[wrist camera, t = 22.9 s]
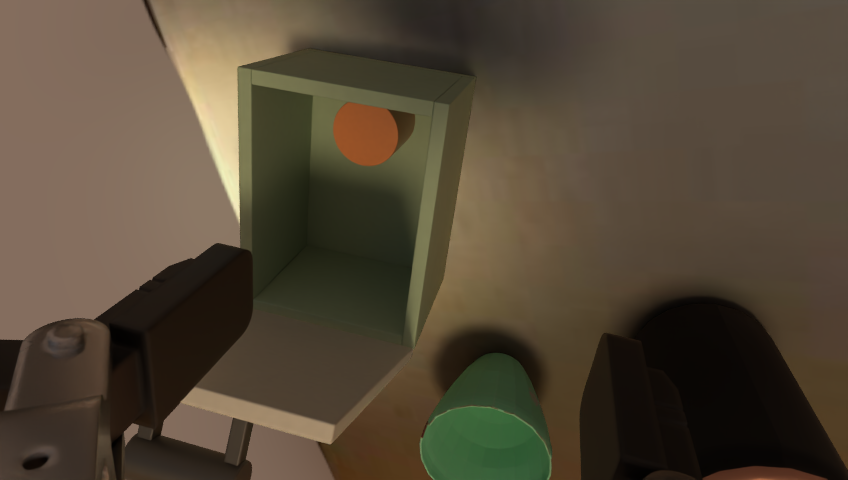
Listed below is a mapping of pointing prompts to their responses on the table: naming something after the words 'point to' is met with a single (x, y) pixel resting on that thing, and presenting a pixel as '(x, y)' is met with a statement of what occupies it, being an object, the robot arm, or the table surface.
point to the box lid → (272, 395)
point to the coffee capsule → (371, 132)
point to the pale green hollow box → (348, 192)
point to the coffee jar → (739, 397)
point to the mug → (488, 426)
